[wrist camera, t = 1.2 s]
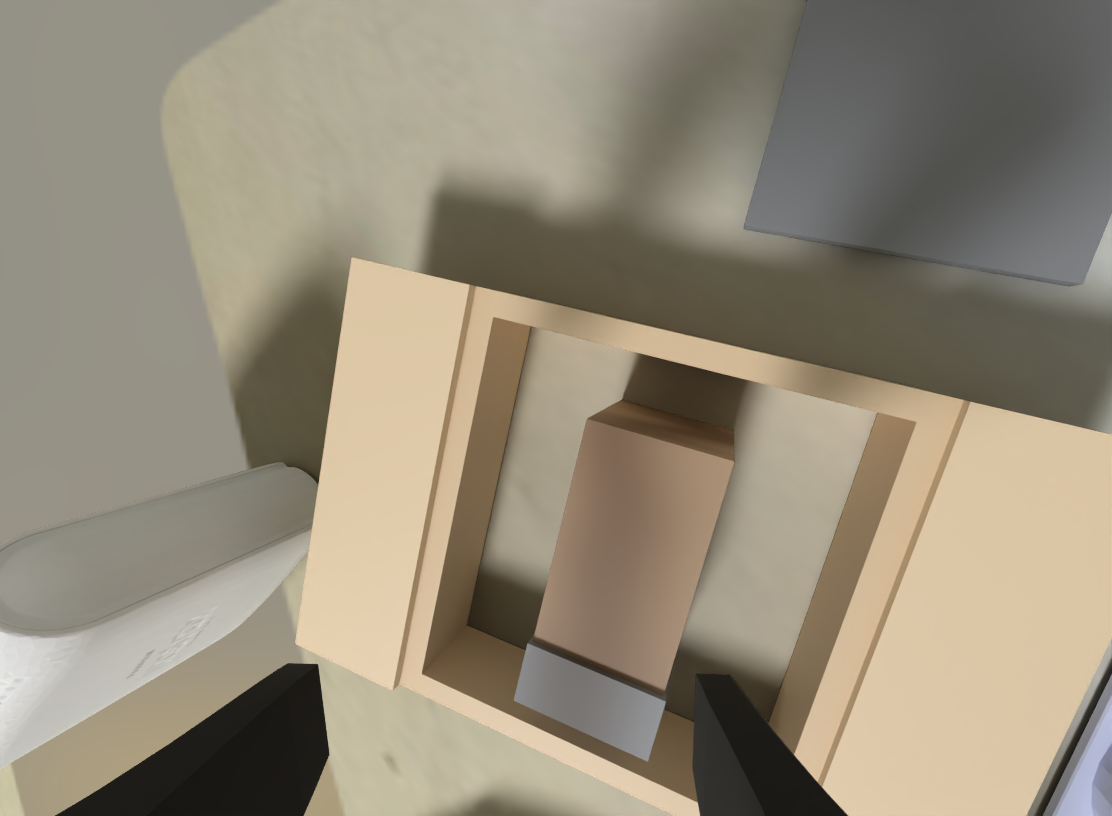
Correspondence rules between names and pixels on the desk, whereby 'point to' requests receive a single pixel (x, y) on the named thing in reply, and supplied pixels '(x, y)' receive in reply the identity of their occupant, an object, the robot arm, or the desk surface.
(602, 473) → the walnut box
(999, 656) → the carton
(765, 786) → the robot arm
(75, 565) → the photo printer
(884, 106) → the mat
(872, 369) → the desk surface
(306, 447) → the desk surface
